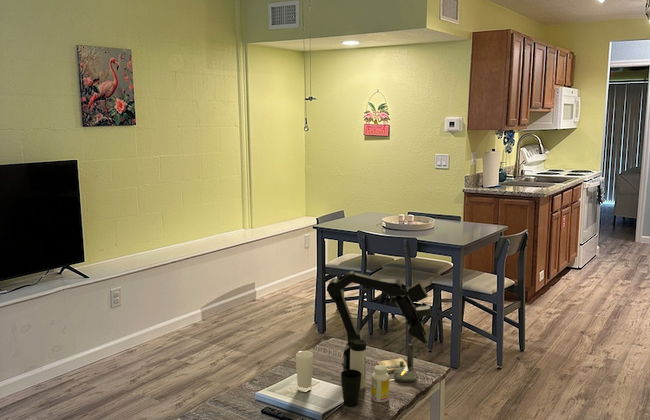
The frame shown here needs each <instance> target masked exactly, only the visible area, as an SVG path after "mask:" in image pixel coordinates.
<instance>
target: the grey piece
mask: <svg viewBox="0 0 650 420" xmlns="http://www.w3.org/2000/svg"><path fill="white" fill-rule="evenodd" d="M406 349H407V351H406V352H407V356H406V363H407V366H406V367H400V368H397V369H395V370H394V372H393V379H395V380H396V381H397V382H400V383H405V384H406V383H407V384H409V383H413V382H415V381H416V380H417V372H416V370H415V369H414V355H415V353H414V352H415V344H414V343H407V348H406ZM395 380H394V381H395Z"/></svg>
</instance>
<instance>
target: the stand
mask: <svg viewBox="0 0 650 420" xmlns="http://www.w3.org/2000/svg"><path fill="white" fill-rule="evenodd" d="M376 365H384V366H386V367H387V371H386V372H387V373H388V374H390V373H394V370H395V369H397V368H400V367H406V366H407V361H405V360H404V359H403V358H402V357H401V358H393V359H388V360H387V359H385V360H379V361H376ZM389 372H390V373H389Z"/></svg>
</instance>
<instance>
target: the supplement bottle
mask: <svg viewBox="0 0 650 420" xmlns="http://www.w3.org/2000/svg"><path fill="white" fill-rule="evenodd" d="M373 370H374V371H373V372H372V374H371V391H370V392H371V394H370V396H371V399H372V401H374V402H376V403H385V402H387V401H388V400H389V398H390V381H389V380H390V375H389V374H390V373H387V372H386V371H387V367H386V366H384V365H377V364H376V365H375V366H374V369H373Z"/></svg>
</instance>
